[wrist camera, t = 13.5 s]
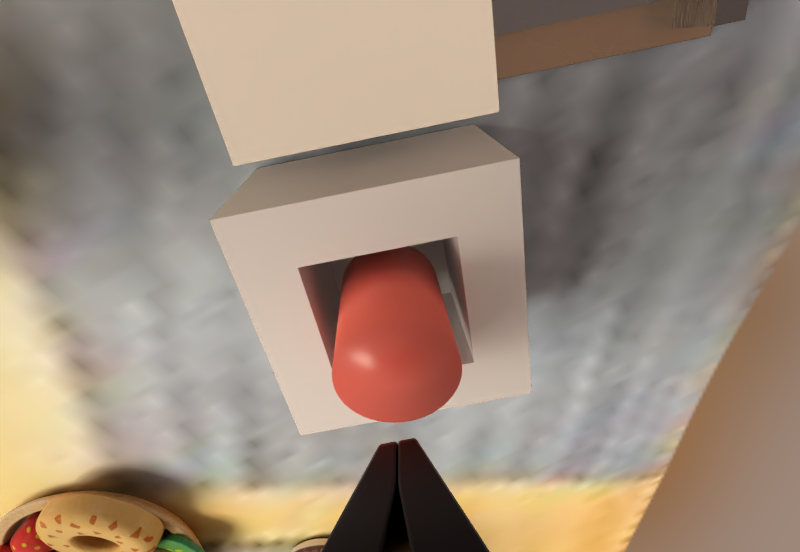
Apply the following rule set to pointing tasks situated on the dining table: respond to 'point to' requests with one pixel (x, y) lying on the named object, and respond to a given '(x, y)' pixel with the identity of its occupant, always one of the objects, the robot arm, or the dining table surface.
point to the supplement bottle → (310, 545)
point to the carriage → (338, 68)
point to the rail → (597, 28)
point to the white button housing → (374, 232)
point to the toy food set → (94, 525)
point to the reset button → (394, 338)
